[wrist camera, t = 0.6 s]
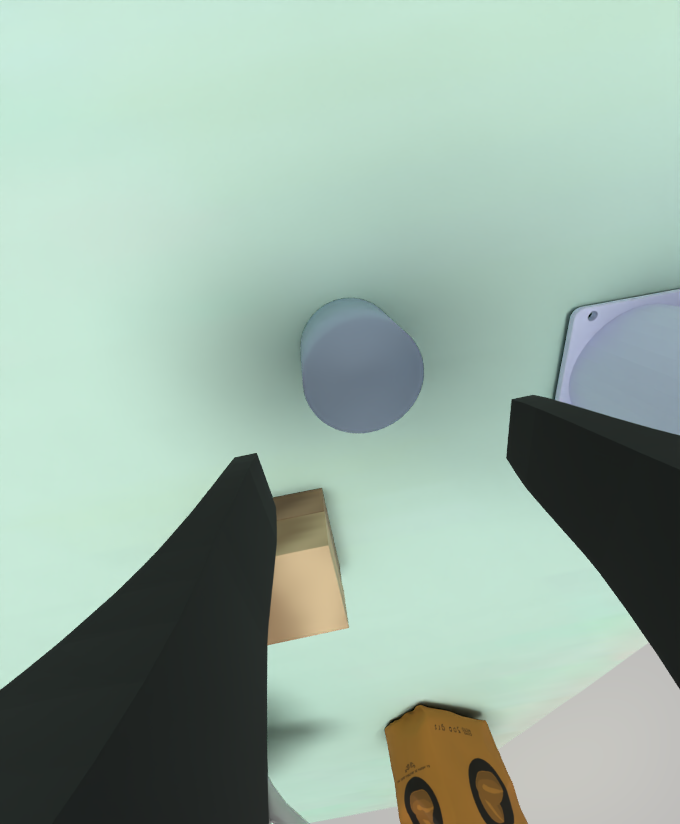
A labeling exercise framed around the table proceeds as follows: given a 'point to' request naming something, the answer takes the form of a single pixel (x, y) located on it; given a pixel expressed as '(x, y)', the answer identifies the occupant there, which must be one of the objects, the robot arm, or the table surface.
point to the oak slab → (305, 581)
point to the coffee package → (449, 771)
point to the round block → (358, 366)
